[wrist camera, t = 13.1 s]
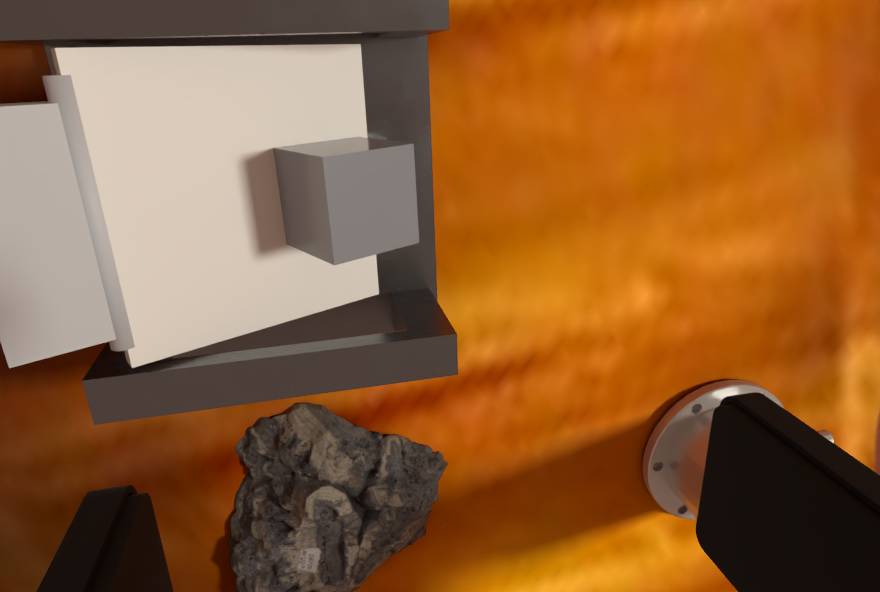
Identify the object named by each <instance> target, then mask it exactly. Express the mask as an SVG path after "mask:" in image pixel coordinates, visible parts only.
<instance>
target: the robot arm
mask: <svg viewBox="0 0 880 592" xmlns="http://www.w3.org/2000/svg"><path fill="white" fill-rule="evenodd" d="M642 467H643V478H644V482H645V485H646V488H647V490H648V491H649V493H650V495H651V496H652V497H653V499H654V500H655V501H656V502H657V503H658V504H659V505H660V507H661V508H663V509H664V510H666V511H667V512H668V513H670V514H672V515H674V516H677V517H680V518H686V519H697V523H696V535H697V538H698V542H699V544H700V546H701V547H702V549H703V550H704V552H705V553H706V554H707V555H708V556H709V558H710V559H711V560H712V561H713V562H714V563H715V565H716V566H717V567H718V568H719V569H720V571H721V572H722V573H723V574H724V575H725V577H726V578H727V579H728V580H729V581H730V582H731V584H732V585H733V586H734V587H735V588H736V590H737V591H738V592H880V475H878V474H877V473H875V472H874V471H872V470H871V469H870V468H868V467H867V466H865V465H864V464H862V463H861V462H859V461H858V460H857V459H855V458H854V457H852V456H851V455H849V454H848V453H847V452H845V451H844V450H842V449H841V448H839V447H838V446H837V445H835V444H834V439H833V437H832V434H831V433H830V432H829V431H827V430H821V431H815V430H814V429H812V428H811V427H809V426H808V425H806V424H805V423H804V422H802V421H801V420H799V419H798V418H796V417H795V416H794V415H792V414H791V413H789V412H788V411H786V410H785V409H784V407H783V405H782V404H781V402H780V401H779V400H778V399H777V397H775V396H774V395H773V394H771V393H770V392H769V391H767V390H766V389H765V388H763V387H761V386H759V385H757V384H756V383H752V382H748V381H745V380H726V381H719V382H715V383H712V384H709V385H706V386H703V387H701V388H699V389H697V390H695V391H693V392H691V393H690V394H688V395H687V396H685V397H684V398H683V399H681V400H680V401H678V402H677V403H676V404H675V405H674V406H673V407H672V408H671V409H670V410H669V411H668V412H667V413H666V414H665V415H664V416H663V418H662V419H661V420H660V421H659V423H658V424H657V425H656V427H655V429H654V431H653V432H652V434H651V436H650V438H649V440H648V443H647V446H646V449H645V451H644V457H643V464H642ZM37 592H173V588H172V584H171V580H170V576H169V572H168V567H167V563H166V559H165V555H164V551H163V547H162V543H161V538H160V534H159V530H158V526H157V522H156V518H155V514H154V509H153V505H152V501H151V498H150V496H149V494H148V493H142V494H137V492H136V489H135V488H134V486H131V485H128V486H121V487H114V488H108V489H101V490H94V491H90V492H88V493H87V494H86V496H85V497H84V499H83V501H82V503H81V505H80V507H79V509H78V511H77V513H76V515H75V517H74V519H73V521H72V523H71V525H70V527H69V529H68V531H67V533H66V535H65V537H64V539H63V541H62V543H61V545H60V547H59V549H58V551H57V553H56V555H55V557H54V559H53V561H52V562H51V564H50V566H49V568H48V570H47V572H46V574H45V576H44V578H43V580H42V582H41V584H40V586H39V588H38V590H37Z"/></svg>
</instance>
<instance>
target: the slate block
mask: <svg viewBox="0 0 880 592" xmlns="http://www.w3.org/2000/svg"><path fill="white" fill-rule="evenodd" d="M273 151H274V158H275V165H276V173H277V180H278V187H279V194H280V201H281V208H282V215H283V222H284V230H285V237H286V244H287V245H289V246H291V247H294V248H296V249H298V250H301V251H303V252H305V253H307V254H310V255H312V256H314V257H316V258H319V259H321V260H323V261H325V262H328V263H330V264H332V265H338V264H342V263H346V262H349V261H353V260H357V259H360V258H364V257H368V256H372V255H375V254H379V253H383V252H387V251H390V250H394V249H398V248H401V247H405V246H409V245H413V244H416V243H419V229H418V212H417V194H416V177H415V159H414V144H413V143H405V142H397V141H389V140H381V139H374V138H366V137H352V138H344V139H336V140H329V141H321V142H314V143H306V144H298V145H291V146H283V147H275V148H273Z"/></svg>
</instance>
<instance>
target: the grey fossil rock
mask: <svg viewBox="0 0 880 592" xmlns="http://www.w3.org/2000/svg"><path fill="white" fill-rule="evenodd" d="M235 451H236V453H237V454H238V456H239V458H240V459H241V460H242V461H243V462H244V463H245V465H246V467H248V468H249V471H250V473H249V474H247V475H246V477H245V478H244V480H243V482H242V483H241V485H240V488H239V490H238V491H237V494H236V499H235V507H236V509H237V511H236V513H235V514H234V515H233V516H232V518H231V535H232V536H231V538H230V540H229V545H230V549H231V554H230V560H229V562H230V565H231V569H232V571H233V572H234V573H236V575H237V576H236V587H237V592H351V591H354V590H356V589H358V588H359V587H360V586H361V585H362V584H363V582H364V581H365V580H366V579H367V578H368V577H369V576H370V575H371V574H372V573H373V572H374V571H375V570H377V569H378V568H379V567H380V566H381V565H382V564H383V562H385V561H386V560H388V558H389V557H390V556H391V555H392V554H395V553H398V552H400V551H401V550H402V549H403V548H405V547H406V546H408V545H412V543H413V542H414V541H416V540H417V539H418V538H420V537H422V536H423V535H425V533H426V528H425V526H426V523H427V520H428V513H429V512H430V511H431V506H432V504H433V503H435V502H436V501H437V500H438V492H437V489H438V481H439V479H440V478H441V476H442V474H443V471H444V469H445V468H446V466H447V465H448V464H447V462H445V461H444V460H443V455H442V454H441V453H440V452H439V451H438V452H433V451H432V449H431V448H430V447H429V446H426V445H422V444H418V443H416V442H411V441H410V440H409V439H408V438H404V437H401V436H399V435H387V436H382V434H381V433H379V432H369V431H367V430H366V429H364V428H363V427H358V426H357V425H353V424H351V423H350V422H348V421H347V420H345V419H343V418H341V417H339V416H337V415H335V414H334V413H332V412H330V411H329V410H327V409H326V408H325V406H322V405H316V404H311V403H298V404H293V405H292V406H291V407H290V409H289V410H287V411H285V412H284V413H283V414H281V415H278V416H275V417H273V418H267V417H263V418H259V419H258V420H257V421H256V423H255V425H254V426H252V427H250V428H248V429H247V430H246V434H245V435H244V437H243V439H242V440H239V442H238V443H237V445H236V449H235Z"/></svg>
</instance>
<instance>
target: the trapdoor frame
mask: <svg viewBox="0 0 880 592" xmlns="http://www.w3.org/2000/svg"><path fill="white" fill-rule="evenodd" d="M445 30H449V1H448V0H0V42H6V43H18V44H30V45H42V46H44V47H45V51H46V55H47V59H48V63H49V67H50V71H51V75H57V74H56V70H55V66H54V61H53V57H52V53H51V49H52V48H82V47H163V46H244V45H325V44H361V55H362V69H363V83H364V96H365V110H366V123H367V137H368V138H374V139H381V140H389V141H397V142H405V143H413V144H414V159H415V177H416V194H417V212H418V229H419V243H416V244H413V245H409V246H405V247H401V248H398V249H394V250H390V251H387V252H383V253H379V254H376V259H377V273H378V286H379V294H378V295H374V296H371V297H368V298H364V299H361V300H358V301H354V302H351V303H348V304H344V305H341V306H338V307H334V308H331V309H328V310H324V311H321V312H318V313H314V314H311V315H308V316H304V317H301V318H298V319H294V320H291V321H288V322H284V323H281V324H278V325H274V326H271V327H268V328H264V329H261V330H258V331H254V332H251V333H248V334H244V335H241V336H238V337H234V338H231V339H228V340H224V341H221V342H218V343H214V344H211V345H208V346H204V347H201V348H198V349H194V350H191V351H188V352H184V353H181V354H178V355H174V356H171V357H168V358H164V359H161V360H158V361H154V362H151V363H148V364H144V365H141V366H138V367H134V368H132V367H131V366H130V365H129V363H128V362H127V360H126V356H125V352H124V351H112V350H111V348H110V344H109V342H108V343H107V344H106V346H105V347H104V349H103V350H102V352H101V353H100V355H99V356H98V358H97V359H96V361H95V362H94V364H93V365H92V367H91V368H90V370H89V371H88V372H87V374H86V375H85V377H84V378H83V380H82V383H83V386H84V390H85V393H86V397H87V401H88V404H89V408H90V411H91V415H92V419H93V422H94V425H96V424H103V423H111V422H118V421H125V420H132V419H140V418H147V417H154V416H161V415H169V414H176V413H183V412H190V411H198V410H205V409H212V408H220V407H227V406H234V405H241V404H249V403H256V402H263V401H270V400H278V399H285V398H292V397H299V396H307V395H314V394H321V393H328V392H336V391H343V390H350V389H357V388H365V387H372V386H379V385H386V384H394V383H401V382H408V381H415V380H423V379H430V378H437V377H444V376H452V375H458V362H457V334H456V332H455V330H454V329H453V327H452V325H451V324H450V322H449V320H448V319H447V317H446V315H445V314H444V312H443V310H442V309H441V307H440V306H439V304H438V302H437V283H436V256H435V229H434V202H433V174H432V147H431V120H430V93H429V66H428V39H427V35H429V34H433V33H437V32H441V31H445ZM387 332H390V333H387ZM379 333H382V334H379ZM371 334H374V335H371ZM362 335H366V336H362ZM354 336H357V337H354ZM346 337H349V338H346ZM338 338H341V339H338ZM329 339H333V340H329ZM321 340H324V341H321ZM313 341H316V342H313ZM305 342H308V343H305ZM296 343H300V344H296ZM288 344H291V345H288ZM280 345H283V346H280ZM272 346H275V347H272ZM263 347H267V348H263ZM255 348H258V349H255ZM247 349H250V350H247ZM239 350H242V351H239ZM230 351H234V352H230ZM222 352H225V353H222ZM214 353H217V354H214ZM206 354H209V355H206ZM197 355H201V356H197ZM189 356H192V357H189ZM181 357H184V358H181ZM173 358H176V359H173Z"/></svg>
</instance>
